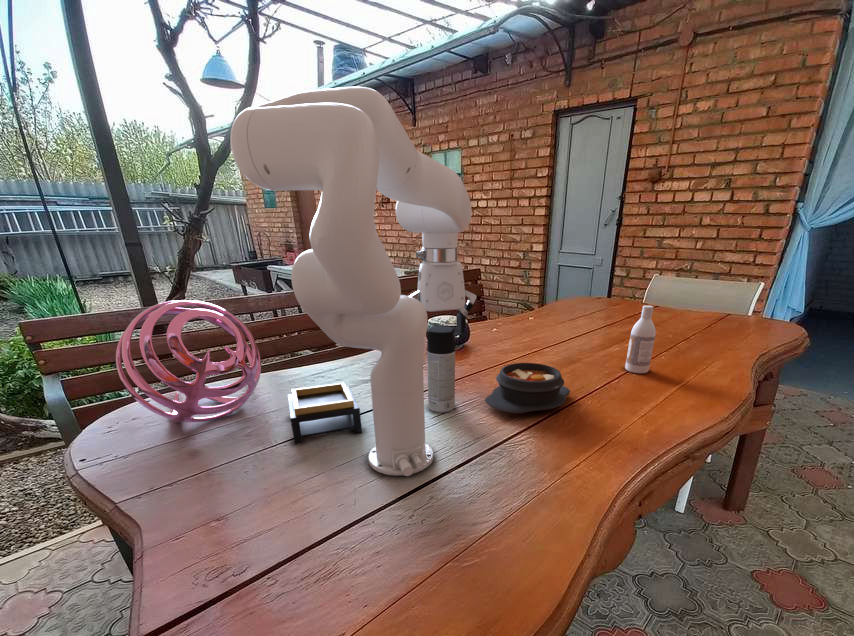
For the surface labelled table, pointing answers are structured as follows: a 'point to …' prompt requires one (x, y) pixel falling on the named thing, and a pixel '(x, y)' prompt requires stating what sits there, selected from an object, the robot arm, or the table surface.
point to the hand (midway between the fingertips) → (441, 333)
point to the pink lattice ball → (190, 362)
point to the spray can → (441, 369)
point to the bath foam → (641, 343)
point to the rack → (323, 411)
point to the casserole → (528, 388)
